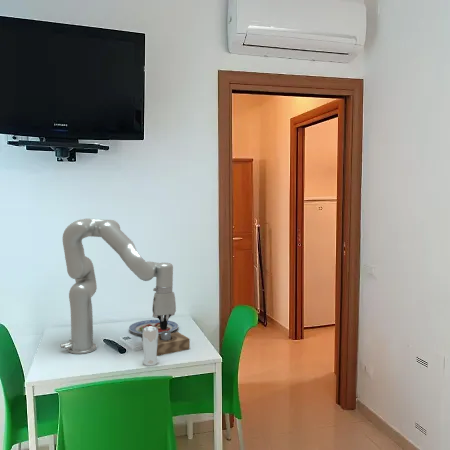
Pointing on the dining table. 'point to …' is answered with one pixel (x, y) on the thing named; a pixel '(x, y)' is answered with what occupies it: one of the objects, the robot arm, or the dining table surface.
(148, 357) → the beer glass
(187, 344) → the block
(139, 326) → the ceramic plate
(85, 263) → the robot arm
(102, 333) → the dining table surface
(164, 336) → the grey cylinder
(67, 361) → the dining table surface
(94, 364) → the dining table surface
